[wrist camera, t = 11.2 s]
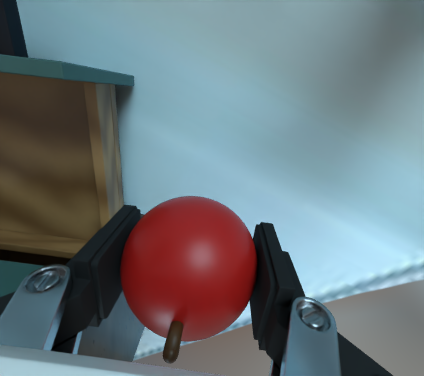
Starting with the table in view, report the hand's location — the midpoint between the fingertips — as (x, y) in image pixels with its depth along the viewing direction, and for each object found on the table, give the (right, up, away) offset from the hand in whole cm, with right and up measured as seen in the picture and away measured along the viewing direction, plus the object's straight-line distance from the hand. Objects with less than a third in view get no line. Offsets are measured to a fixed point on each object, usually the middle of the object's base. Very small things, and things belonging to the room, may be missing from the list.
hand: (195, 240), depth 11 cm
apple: (0, +1, +1) cm, 1 cm away
